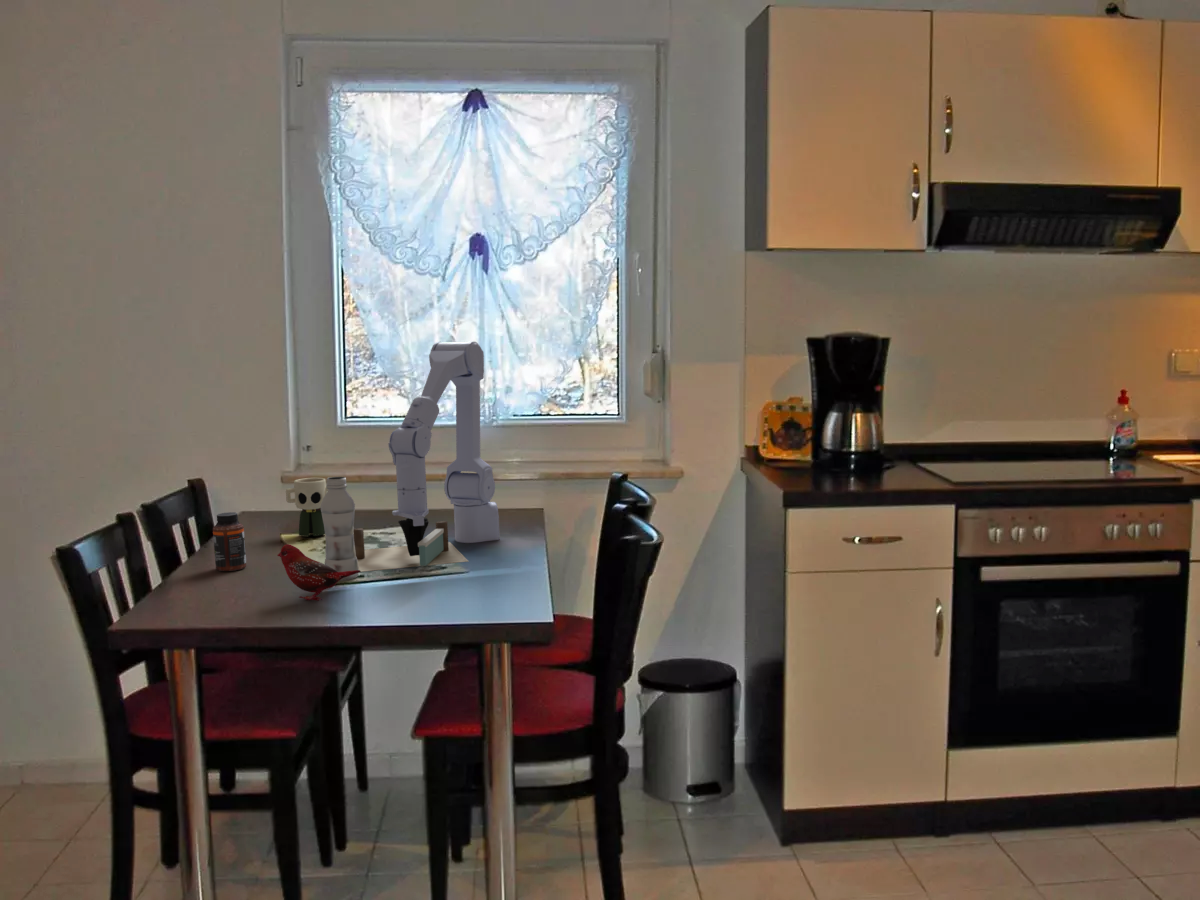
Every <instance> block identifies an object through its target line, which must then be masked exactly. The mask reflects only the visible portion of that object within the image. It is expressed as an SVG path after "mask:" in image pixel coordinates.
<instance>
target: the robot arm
mask: <svg viewBox="0 0 1200 900" xmlns="http://www.w3.org/2000/svg"><path fill="white" fill-rule="evenodd" d="M428 356H429V357H428V359H429V360H428V361H429V367H430V370H429V373H428V375H427V378H426V381H425V385H424V387H423V389H422V392H421V395H420V396H417V397H416V398H414V399H413V400H412V402H411V404H410V406H409V408H408V410H407V413H406V415H405V417H404V419H403V421H402V423H401V424H400V427H397V428H395V430H393V431H392V432H391V434H390V437H389V442H388V444H387V445H388V448H389V452H390V454H391V456H392V463H393V465H394V466H395V469H396V471H395V472H396V475H395V476H396V490H397V491H396V492H397V508H398V509H397V510H392V511H391V512H392V513H391V514H392V515H393V516H399V517H403V518H405V519H401V520H398V525H399V526H400V528H401V530H402V532H403V535H404V538H405V543H406V546H407V548H408V552H409V555H410V556H417V555H419V547H418V542H420V541H421V540H422V539H424V538H425V537H424V536H425V533H426V531H427V528H428V526H429V524H430V523H429V519H428V518H427V517H426V516H427V515H428V514H429V512H430V511H429V508H428V496H427V495H428V491H427V474H426V473H427V472H426V456H427V455H428V453H429V451H430V449H431V439H432V437H433V436H432V435H433V433H432V429H433V427H434V425H435V423H436V420H437V418H438V416H439V414H440V408H439V405H438V402H439V401H440V399H441V397H442V396H443V393H444V392H445V391H446V388H447V386H448V385H449V383H450V382H452V383H453V385H454V386H455V414H456V415H455V419H456V420H455V424H456V425H455V429H456V430H455V431H456V432H455V434H456V435H455V436H456V438H455V439H456V451H455V453H456V456H455V457H456V458H455V460H454V461H452V462H451V463H450V464H448V466H447V467H446V476H445V480H444V483H443V489H444V494H445V496H446V497H447V499H448V500H449V501H450V505H453V515H454V516H453V518H454V520H453V521H454V538H455V539H454V541H455V542H457V543H463V544H464V543H465V544H470V543H471V544H472V543H473V544H474V543H481V542H489V541H490V542H491V541H499V540H500V539H501V538H500V517H499V508H498V505H497V502H496V501H491V500H492V498H493V497H494V495H495V491H496V483H495V479H494V473H493V467H492V466H491V465H490V464H489V463H488V462H486V461H485V460H483V459H482V457H481V381H482V380H483V379H484V377H485V375H484V374H485V373H484V372H485V369H484V368H485V358H484V357H485V356H484V350H483V349H482V347H481V346H480V344H479V343H478V342H477V341H475V340H473V341H472V340H471V341H460V342H459V341H454V342H453V341H451V342H449V341H448V342H445V341H444V342H442V341H436V342H434V343H433V345H432V347H431V349H430V353H429V355H428Z"/></svg>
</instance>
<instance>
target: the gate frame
mask: <svg viewBox="0 0 1200 900" xmlns="http://www.w3.org/2000/svg"><path fill="white" fill-rule="evenodd" d="M448 527H449V525H448V521H445V520H440V521H436V522H435V529H444V533H443V546H444V550H443V551H442V552H441V553H440V554H439V555H437V556H436V557H435V558H434V559H433V560H432V561H431V562H430V563H428V564H427V565H426V566H436V565H445V564H456V563H467V562H468V563H469V560H468V559H467V558H466V557H465V555H463V554H462V553H461V552H460V551H459V550H458V549H457V548H456V547H455V545H454V544H453V543H451V541H449V529H448ZM353 534H354V545H355V552H356V557H357V560H358V565H359V570H360V571H361V572H360V573H362V572H363V573H364V572H373V571H383V570H395V569H405V568H413V567H421V566H420V557H419V555H417V556H410V555H409V552H408V548H407V545H402V546H393V547H392V546H391V547H390V546H389V547H381V548H380V547H379V548H371V549H365V537H364V534H365V533H364V528H361V527H359V528H358V527H357V528H354V532H353Z"/></svg>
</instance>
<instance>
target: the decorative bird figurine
mask: <svg viewBox="0 0 1200 900" xmlns="http://www.w3.org/2000/svg"><path fill="white" fill-rule="evenodd" d="M277 557H280V559H281V563H282V565H283V566H284V569H285V572H286V575H287V577H288V578H289V580H290V581H291V582H292V584H294V586H296V587H298V588H299V589H300V590H302V591H305V592H309V593H314V594H312V595H310V596H309V595H305V596H301V595H300V596H298V598H300V599H304V600H306V601H318V602H319V601H320V600H321V601H323V599H322V598H321V597H320V596H318V595H320V594H321V593H322V592H323V591H326V590H328V589H331V588H333V587H334V586H335V585H337V583H338V582H340V581H339V580H341V579H342V578H345V577H348V576H351V575H353V574H356V573H358V574H359V573H362V572H361V571H360V570H354V571H345V572H337V571H336V570H334V569H333V568H331V567H329V566H327V565H325V563H323V562H320V561H317V560H314V559H312V558H311V557H308V556H307V555H305V554H304V553H303V552H302V551H301V550H300V549H299V548H298V547H296V546H294V545H293V544H289V543H288V544H284V545H283V546H282V547H281V549H280V552H279V553H278V554H277Z"/></svg>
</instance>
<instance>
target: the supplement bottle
mask: <svg viewBox="0 0 1200 900" xmlns="http://www.w3.org/2000/svg"><path fill="white" fill-rule="evenodd" d="M238 516H239V515H238V512H235V511H234V512H233V511H230V512H229V511H227V512H221V513H218V514H216V521H217V522H216V524H215V525H214V526H213V528H212V536H213V538H212V539H213V550H214V552H213V553H214V561H215V569H216V570H217V571H219V572H234V571H240V570H242V569H245V568H246V567H247V555H246V543H245V542H246V541H245V530H244V529H245V528H244V527H245V526H244V525H243V524H242V522H240V521H239V517H238Z"/></svg>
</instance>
